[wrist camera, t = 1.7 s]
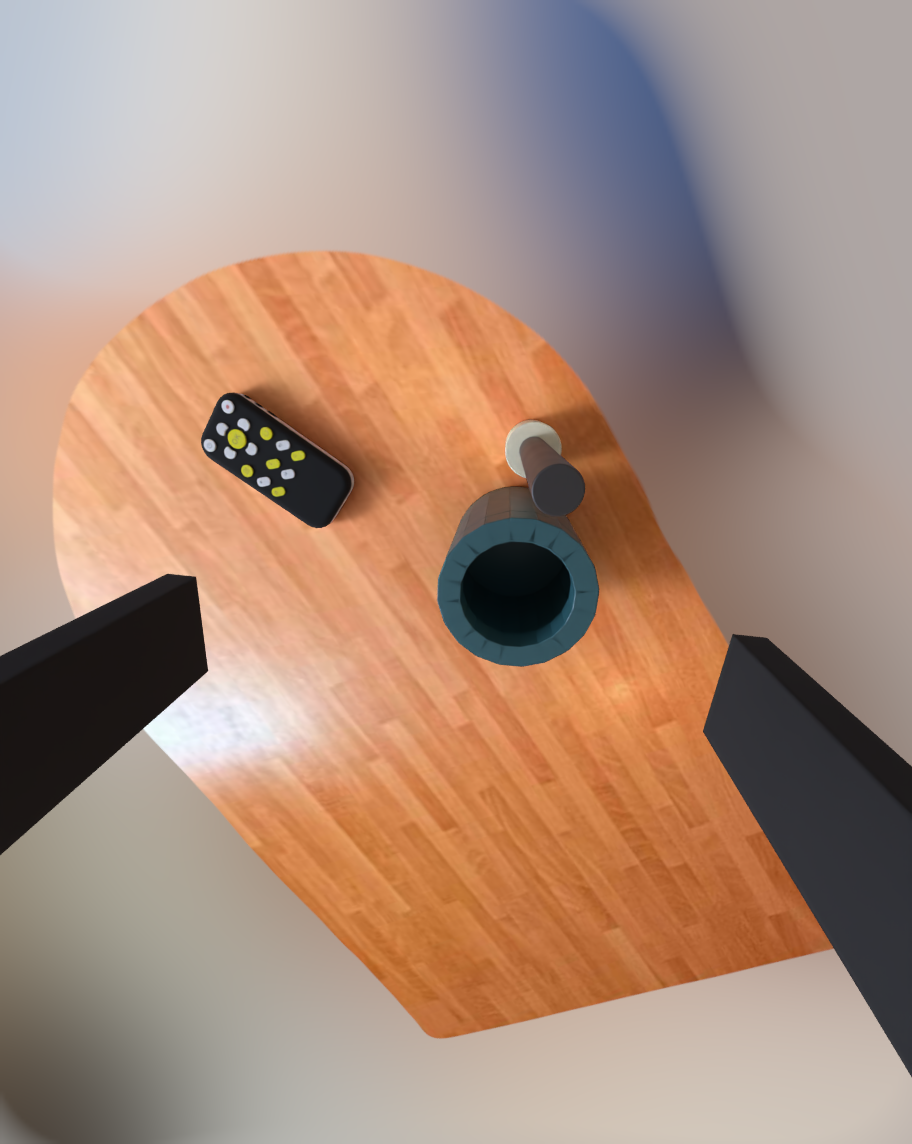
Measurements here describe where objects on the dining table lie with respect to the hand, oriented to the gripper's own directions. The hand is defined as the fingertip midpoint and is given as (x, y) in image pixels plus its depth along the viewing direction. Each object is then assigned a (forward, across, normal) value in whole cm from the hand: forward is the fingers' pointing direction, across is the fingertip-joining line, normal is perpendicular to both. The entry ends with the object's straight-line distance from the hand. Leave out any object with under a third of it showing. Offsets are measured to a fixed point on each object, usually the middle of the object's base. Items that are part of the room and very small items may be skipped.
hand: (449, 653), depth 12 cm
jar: (+30, +3, -6) cm, 30 cm away
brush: (+30, +3, +3) cm, 30 cm away
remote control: (+30, -18, 0) cm, 35 cm away
